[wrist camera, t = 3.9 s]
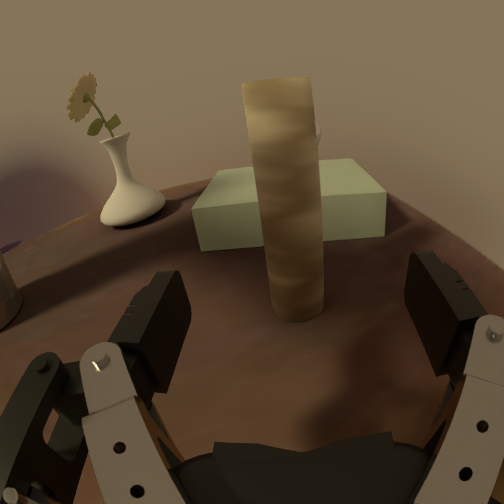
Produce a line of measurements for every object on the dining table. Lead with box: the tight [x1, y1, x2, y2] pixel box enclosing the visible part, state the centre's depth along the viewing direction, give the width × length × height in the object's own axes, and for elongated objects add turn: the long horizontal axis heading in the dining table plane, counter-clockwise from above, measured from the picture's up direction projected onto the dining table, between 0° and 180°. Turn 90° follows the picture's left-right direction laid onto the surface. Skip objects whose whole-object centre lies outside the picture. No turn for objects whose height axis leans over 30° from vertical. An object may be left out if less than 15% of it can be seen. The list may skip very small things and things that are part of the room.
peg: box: [241, 77, 324, 322], centre depth 19 cm, size 4×4×16 cm
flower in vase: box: [67, 72, 166, 226], centre depth 40 cm, size 13×11×25 cm
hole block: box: [191, 159, 386, 251], centre depth 37 cm, size 20×16×5 cm
